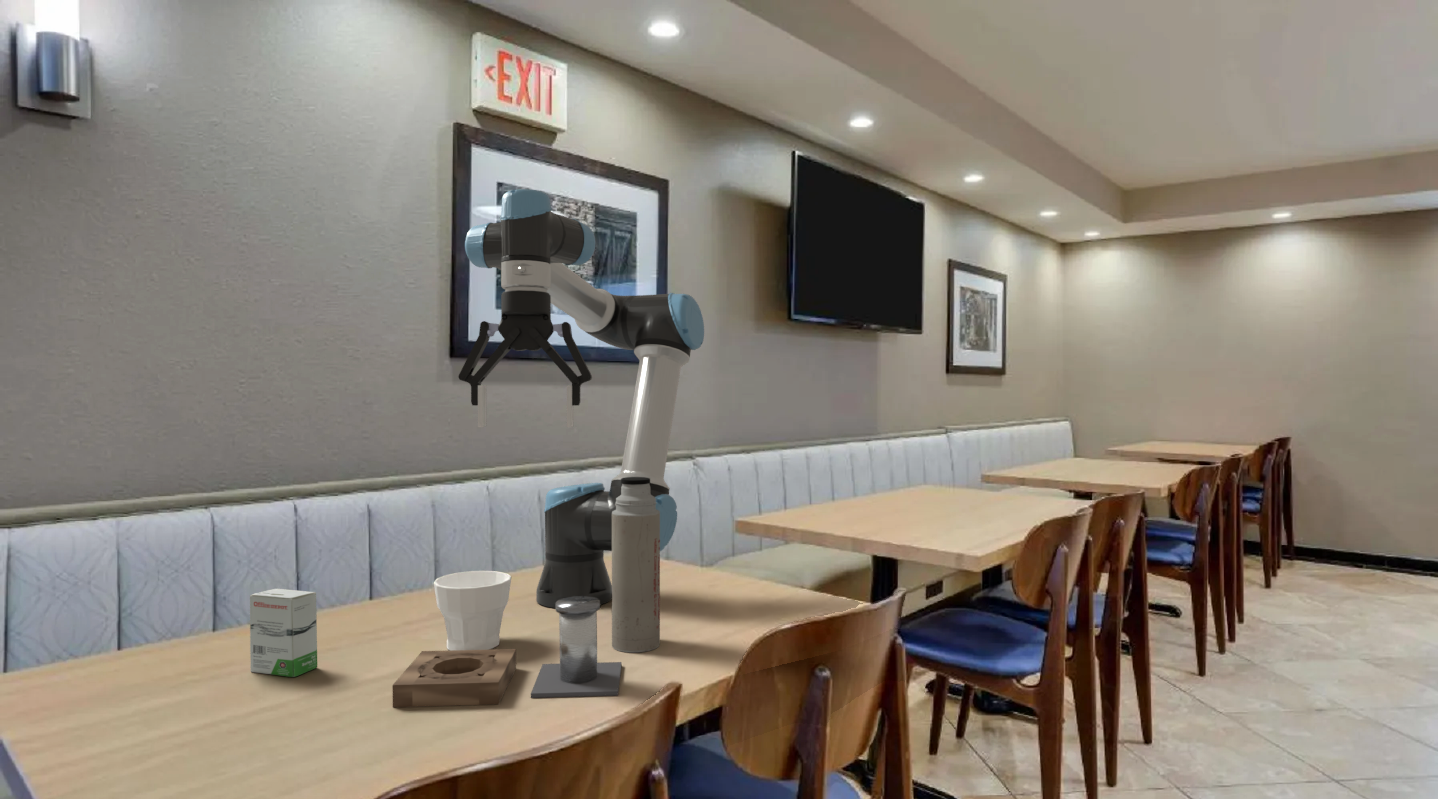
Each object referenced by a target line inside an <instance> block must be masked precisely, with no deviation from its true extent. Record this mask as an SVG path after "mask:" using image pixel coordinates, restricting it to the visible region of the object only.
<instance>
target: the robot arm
mask: <svg viewBox="0 0 1438 799" xmlns="http://www.w3.org/2000/svg"><path fill="white" fill-rule="evenodd" d="M501 197H502V198H501V212H500V217H499V218H500V222H487V223H483V224H477V225H474V226H472V227H471V228H470V229H469V230H468V232H467V233H466V237H465V241H464V250H465V254H466V255H467V259H468V260H469V262H470V263H471V264H473V265H474V267H478V268H484V269H485V268H486V269H492V268H496V269H498V270H500V273H501V274H500V275H501V276H500V279H501V282H500V283H501V284H500V285H501V288H502V289H503V290H504V291H503V292H502V293H500V294H501V302H500V304H501V309H500V310H501V314H500V315H501V316H500V322H499V323H494V322H488V321H486V320H485V321H484V320H483V321H481V322H480V324H479V331H478V336H477V338H476V340H475V342H474V345H473V346H472V349H471V350H470V352H469V354H468V356H467V357H466V360H465V362H464V364H463V365H462V368H461V370H460V372H459V374H458V376H457V377H458V379H459V380H460V381H463V382H465V383H467V384H469V385H470V403H471V406H477V428H486V427H487V385H485V384H482V382H483V381H484V380H485V379H486V378H487V377H488V375H490V373H491V372H492V371H493V370H494V369H495V368H496V366H498V364H499V363H500V362H501V361H502V359H503V358H504V357H506V355H507V354H508V353H509V352H510V351H511V350H513V351H516V352H520V351H521V352H524V351H526V350H527V351H531V352H538V351H540V350H541V349H542V350H543V351H544V353H545V354H546V355H547V356H548V357H549V358H550V360H552V362H553V363H554V364H555V365H556V366H557V368H559V370H560V371H561V372H562V373H563V374H564V376H565V377H566V378H567V379H568V381H570V383H571V385H566V428H573V427H574V406H580V404H581V387H582V385H583V384H584V383H587V382H590V381H591V380H592V379H593V376H592V374H591V371H590V369H589V367H588V365H587V364H586V362H585V360H584V358H583V356H582V354H581V351H580V350H579V347H578V346H577V344H576V341H575V340H574V337H573V334H572V333H573V332H572V326H571V324H570V323H569V322H568V321H564V322H562V323H555V324H553V323H552V320H551V319H552V318H551V315H552V314H551V309H552V308H551V306H552V305H553V306H554V307H556V308H557V309H558V310H560V311H561V312H564V313H565V314H566V315H568V316H569V317H571V318H572V319H574V321H575V324H576V326H577V327H578V328H580V330H582V331H583V332H585V333H586V334H587V335H590V336H592V337H594V338H595V339H597V340H599V341H601V342H603V343H605V344H607V345H610V346H613V347H615V348H618V349H622V350H629V351H633V354H634V355H635V356H636V358H637V359H638V361H639V363H638V367H637V368H638V369H637V374H636V379H635V380H636V382H635V388H634V393H633V399H632V402H631V403H632V404H631V410H630V416H629V421H628V428H627V435H626V439H625V445H624V451H623V457H622V461H621V462H622V463H621V469H620V472H619V474H617V475H616V476H615V477H613V478H612V479H611V482H610V487H609V490H607V491H605V487H604V484H603V483H602V482H591V483H590V482H589V483H581V484H574V485H573V484H572V485H567V486H559V487H554V488H551V489H550V490H548V492H547V493H546V495H545V503H544V504H545V505H544V510H543V512H544V537H545V538H544V541H545V543H544V546H545V547H544V549H545V550H544V551H545V553H544V555H545V557H544V558H545V559H544V565H543V569H542V571H541V574H540V578H539V580H538V584H537V587H536V592H535V593H536V594H535V595H536V599H535V600H536V603H537V604H538V605H541V606H544V607H547V608H554V609H556V602H557V601H558V600H560V599H563V598H568V597H576V596H589V597H595V598H598V599H599V600H600V606H601V605H603V604H607V603H608V602H610V601H612V580H611V579H610V575H609V573H608V570H607V567H606V562H605V558H604V556H605V555H604V552H605V551H606V552H612V511H614V510H616V505H615V503H616V498H617V497H619V496H620V495H621V487H622V483H621V478H626V477H646V478H650V483H649V485H650V493H651V495H652V496H654V497H655V498H656V503H657V504H656V510H659V511H660V552H662V551H663V550H664V549H665V548H666V546H667V545H668V544H669V543H670V541H671V539H672V538H673V536H674V533H675V530H676V525H677V522H678V511H677V509H678V508H677V502H676V500H675V499H674V498H673V497H672V496H670V487H669V486H668V484H667V483H666V482H665V478H664V477H665V471H666V465H667V460H668V451H669V445H670V438H671V433H672V427H673V420H674V415H675V414H674V413H675V408H676V400H677V393H678V389H679V382H680V374H681V370H682V369H681V368H682V367H683V366H685V365H687V364H688V363H689V362H690V358H691V351H696V350H698V349H700V348H701V347H702V344H703V342H704V338H705V324H704V317H703V313H702V310H701V308H700V305H699V304H698V302H697V300H696V299H695V298H694V297H693V296H692V295H690V294H687V293H674V292H670V293H662V294H643V295H641V294H640V295H639V294H638V295H619V294H618V295H616V294H614V293H613V294H612V293H610V292H609V291H608V290H606V289H603V288H595V286H593V285H591V283H589V282H588V281H586V280H585V279H584V278H582V277H581V276H579V275H578V274H577V273H576V272H574V271H573V270H572V269H570V268H569V267H568V266H581V265H584V264H586V263H587V262H588V261H589V260H590V259H591V258H592V256H593V255H594V253H595V250H596V249H595V248H596V237H595V234H594V232H593V230H592V229H591V228H590V227H589V225H587V224H585V223H583V222H581V221H580V220H578V219H576V218H570V217H567V216H563V215H560V214H558V213H554V212H553V211H552V204H551V199H550V196H549V195H548V194H547V193H546V192H543V191H542V190H536V189H527V188H521V189H519V188H518V189H511V190H508V191H506V192H505V193H504V194H503V195H502V196H501ZM496 332H498V333H499V334H500V335H501V336H502V338H503V339H502V342H501V343H500V344H498V346H497V348H496V349H495V351H493V353H492V354H491V355H490V356H489V357H488V359H487V360H485V362H484V363H483V364H482V365H481V366H480V368H478V370H477V371H476V372H475V373H474V375H473V372H474V370H475V369H476V367H477V364H478V363H479V361H480V359H481V357H482V355H483V353H484V351H485V349H486V346H487V345H488V343H489V341H490V338H491V337H494V336H495V333H496ZM554 332H556V333H557V335H558V336H559V337H561V338H563V340H564V343H565V344H566V348H568V351H569V354H570V355H571V357H572V358H573V360H574V362H575V365H576V366H577V368H578V371H579V373H580V375H577V374H576V372H575V371H573V369H572V368H571V366H569V364H568V363H567V362H566V360H564V359H563V357H562V356H561V355H560V354H559V353H558V351H557V350H556V349H555V348H554V347H553V346H552V344H551V343H550V342H549V339H550V337H551V336H552V335H553V333H554Z"/></svg>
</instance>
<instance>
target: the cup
mask: <svg viewBox="0 0 1438 799" xmlns="http://www.w3.org/2000/svg"><path fill="white" fill-rule="evenodd" d="M511 583H512V576H511V575H510V574H508V573H507V572H502V571H496V570H495V571H494V570H470V571H469V570H468V571H459V572H455V573H450V574H449V573H448V574H445V575H443V576H440V577H437V578H436V579H435V580H434V582H433V590H434V596H435V600H436V607H437V609H439V611H440V613H441V615H442V616H443V618H444V619H443V620H444V624H445V631H446V635H447V639H446V648H447V651H448V650H492V649H495V648H496V647H498V646H499V645H500V633H501V627H502V626H501V625H502V621H503V616H504V615H503V614H504V610H505V609H506V607H507V605H508V602H509V598H510V591H511Z"/></svg>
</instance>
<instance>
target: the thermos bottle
mask: <svg viewBox="0 0 1438 799" xmlns="http://www.w3.org/2000/svg"><path fill="white" fill-rule="evenodd" d="M621 483H622V487H621V495H620V496H619V497H617V498H616V503H615V505H616V510H614V511H612V551H611V584H612V599H611V601H612V602H611V648H613V650H616V651H619V652H622V653H645V652H650V651H653V650H656V649H657V648H659V647H660V645H661V638H660V637H661V628H660V627H661V621H660V620H661V611H660V610H661V596H660V595H661V588H660V587H661V576H660V575H661V551H660V511H659V510H656V504H657V503H656V498H655V497H654V496H652V495H651V493H650V485H649V483H650V478H646V477H626V478H621Z"/></svg>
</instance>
